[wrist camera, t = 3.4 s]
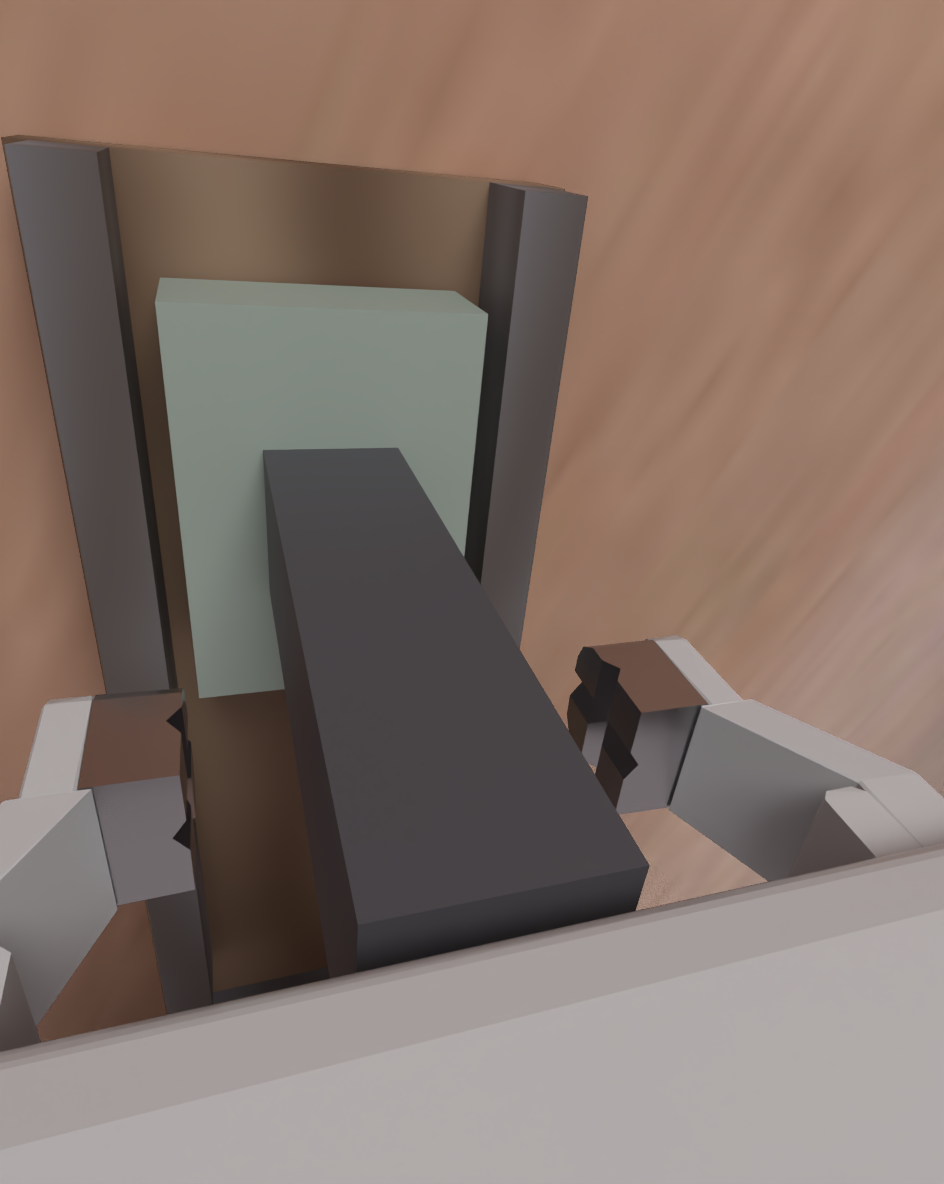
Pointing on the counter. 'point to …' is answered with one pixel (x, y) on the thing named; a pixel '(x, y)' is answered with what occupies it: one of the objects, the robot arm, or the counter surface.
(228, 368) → the carriage
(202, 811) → the rail
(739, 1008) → the robot arm
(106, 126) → the counter surface
